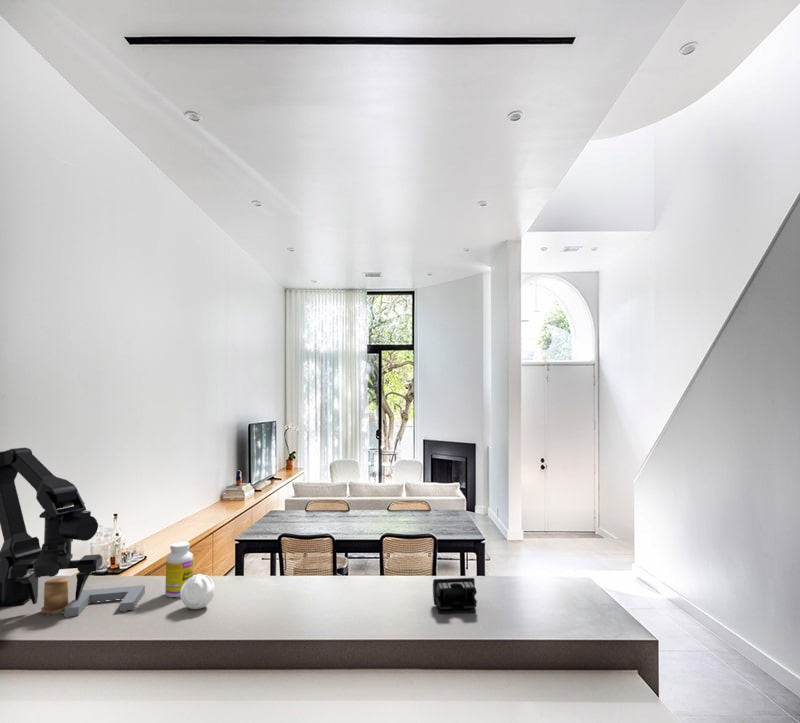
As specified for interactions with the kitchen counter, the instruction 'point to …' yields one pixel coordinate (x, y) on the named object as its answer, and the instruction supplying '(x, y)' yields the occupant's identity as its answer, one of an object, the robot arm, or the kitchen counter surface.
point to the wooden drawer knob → (55, 596)
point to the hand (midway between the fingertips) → (56, 601)
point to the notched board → (106, 598)
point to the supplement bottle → (178, 568)
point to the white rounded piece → (197, 591)
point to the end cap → (454, 595)
